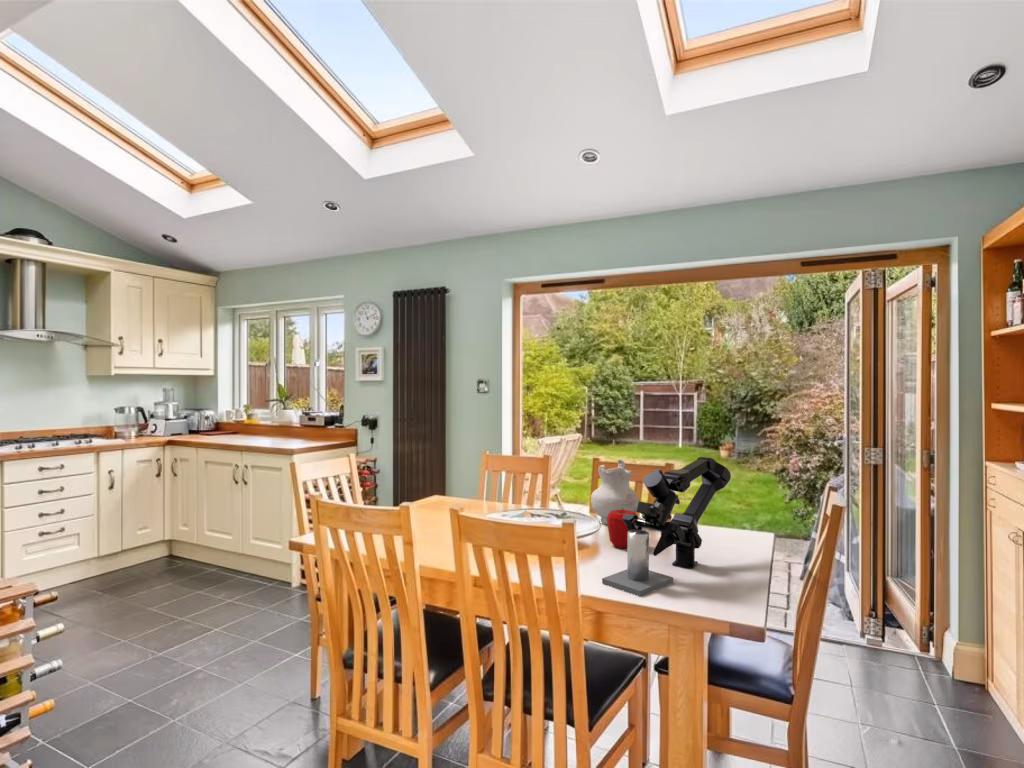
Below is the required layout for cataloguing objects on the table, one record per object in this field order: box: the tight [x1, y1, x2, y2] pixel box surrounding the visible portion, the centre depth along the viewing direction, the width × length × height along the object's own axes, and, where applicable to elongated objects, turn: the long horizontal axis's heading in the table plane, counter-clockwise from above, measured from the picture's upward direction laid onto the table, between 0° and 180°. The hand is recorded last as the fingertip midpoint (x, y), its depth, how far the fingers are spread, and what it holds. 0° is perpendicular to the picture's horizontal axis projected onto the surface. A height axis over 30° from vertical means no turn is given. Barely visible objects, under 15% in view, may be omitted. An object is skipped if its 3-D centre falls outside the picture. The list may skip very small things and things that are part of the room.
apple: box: [607, 508, 637, 549], centre depth 199 cm, size 10×10×14 cm
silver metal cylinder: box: [626, 529, 650, 581], centre depth 162 cm, size 6×6×13 cm
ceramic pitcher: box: [590, 458, 640, 526], centre depth 234 cm, size 22×20×25 cm
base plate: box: [601, 569, 674, 597], centre depth 162 cm, size 16×13×2 cm
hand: (640, 551), depth 163 cm, fingers open, 9 cm apart
